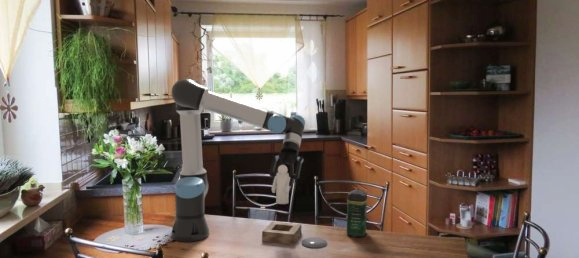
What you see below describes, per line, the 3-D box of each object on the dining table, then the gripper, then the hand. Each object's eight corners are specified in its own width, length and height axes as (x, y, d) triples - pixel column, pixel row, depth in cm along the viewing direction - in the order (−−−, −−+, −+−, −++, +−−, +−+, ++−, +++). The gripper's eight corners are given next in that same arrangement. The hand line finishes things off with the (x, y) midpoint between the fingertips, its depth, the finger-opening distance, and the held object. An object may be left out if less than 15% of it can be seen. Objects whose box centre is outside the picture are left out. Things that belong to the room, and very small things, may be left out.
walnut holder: (262, 241, 165) (262, 231, 165) (272, 230, 178) (272, 221, 177) (293, 244, 162) (293, 234, 162) (301, 233, 174) (301, 224, 174)
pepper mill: (274, 203, 167) (275, 165, 165) (278, 200, 172) (278, 163, 170) (286, 204, 166) (287, 166, 164) (289, 201, 170) (290, 164, 169)
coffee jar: (364, 238, 169) (365, 194, 167) (345, 236, 172) (345, 192, 170) (367, 231, 178) (368, 188, 176) (349, 229, 181) (350, 187, 179)
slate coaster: (298, 246, 160) (298, 244, 160) (304, 237, 169) (304, 236, 169) (324, 249, 157) (324, 247, 157) (328, 240, 167) (328, 238, 167)
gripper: (312, 152, 179) (303, 198, 165) (273, 150, 184) (260, 195, 170) (310, 141, 174) (300, 188, 159) (269, 139, 178) (256, 185, 164)
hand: (279, 191), depth 165 cm, fingers closed on pepper mill, 5 cm apart
